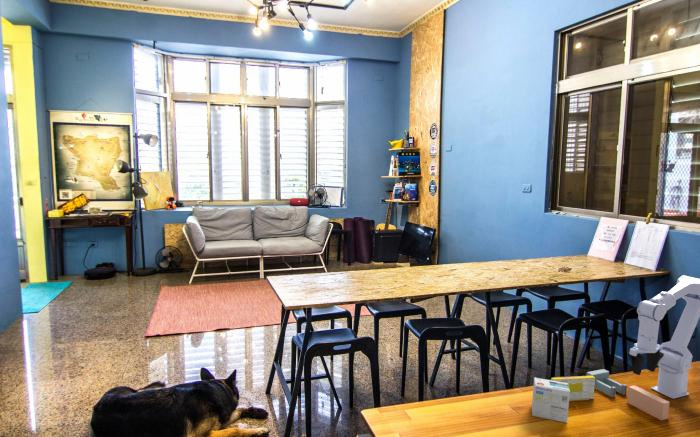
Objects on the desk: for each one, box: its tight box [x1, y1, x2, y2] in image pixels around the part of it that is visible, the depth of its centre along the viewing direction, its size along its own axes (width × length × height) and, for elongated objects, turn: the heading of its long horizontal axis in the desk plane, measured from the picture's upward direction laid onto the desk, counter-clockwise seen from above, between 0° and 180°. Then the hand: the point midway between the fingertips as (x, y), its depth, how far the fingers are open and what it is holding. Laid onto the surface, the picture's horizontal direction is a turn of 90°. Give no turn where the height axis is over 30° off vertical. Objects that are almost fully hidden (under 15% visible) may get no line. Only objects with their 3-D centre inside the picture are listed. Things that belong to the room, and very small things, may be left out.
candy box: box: [550, 375, 595, 402], centre depth 158 cm, size 16×2×8 cm, turn 99°
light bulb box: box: [531, 376, 570, 424], centre depth 147 cm, size 11×7×11 cm, turn 71°
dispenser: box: [586, 368, 628, 398], centre depth 167 cm, size 9×10×5 cm
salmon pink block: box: [626, 385, 670, 421], centre depth 153 cm, size 3×12×6 cm, turn 22°
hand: (643, 372), depth 159 cm, fingers open, 7 cm apart
